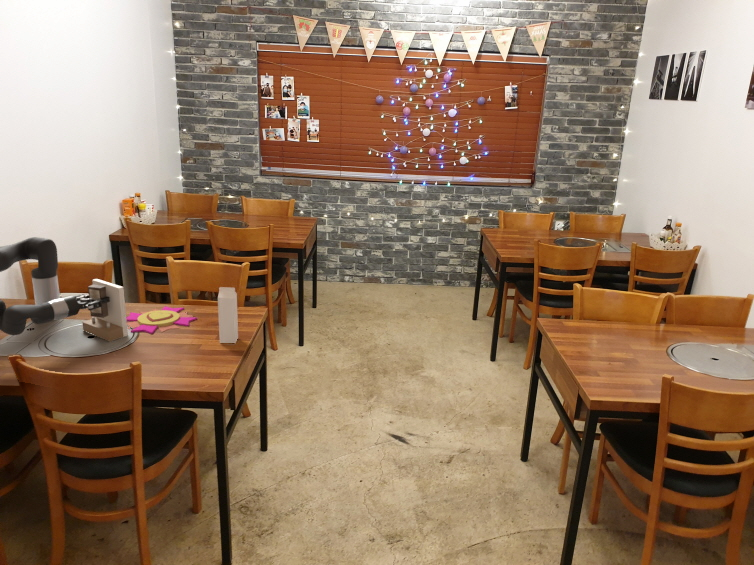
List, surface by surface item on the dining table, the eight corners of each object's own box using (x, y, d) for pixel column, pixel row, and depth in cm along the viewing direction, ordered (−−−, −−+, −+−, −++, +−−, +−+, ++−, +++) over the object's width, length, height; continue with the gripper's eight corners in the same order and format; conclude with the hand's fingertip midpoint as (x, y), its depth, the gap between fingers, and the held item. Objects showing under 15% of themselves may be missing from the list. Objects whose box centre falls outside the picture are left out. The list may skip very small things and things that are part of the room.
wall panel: (83, 331, 232) (77, 283, 226) (101, 325, 238) (96, 278, 233) (109, 341, 223) (104, 292, 217) (128, 335, 230) (123, 287, 224)
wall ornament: (105, 325, 233) (142, 301, 262) (105, 331, 234) (142, 306, 262) (177, 331, 230) (206, 306, 259) (177, 337, 231) (207, 311, 260)
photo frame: (90, 316, 226) (87, 286, 223) (96, 313, 229) (93, 284, 226) (103, 318, 225) (100, 288, 221) (108, 315, 228) (105, 286, 224)
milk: (235, 344, 226) (233, 290, 219) (219, 343, 226) (217, 289, 219) (238, 338, 232) (236, 285, 225) (222, 337, 231) (220, 284, 225)
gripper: (51, 313, 218) (93, 302, 232) (74, 322, 211) (116, 310, 224) (49, 294, 216) (91, 284, 230) (71, 302, 209) (114, 291, 222)
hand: (103, 297), depth 227 cm, fingers closed on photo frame, 6 cm apart
